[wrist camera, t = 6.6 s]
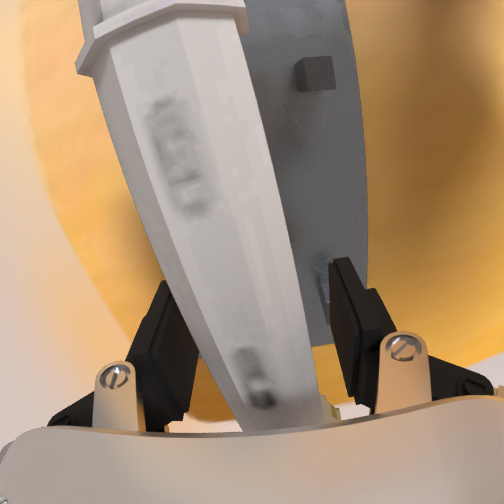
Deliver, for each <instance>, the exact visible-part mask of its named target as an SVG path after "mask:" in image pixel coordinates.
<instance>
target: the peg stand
mask: <svg viewBox="0 0 504 504" xmlns="http://www.w3.org/2000/svg"><path fill="white" fill-rule="evenodd" d="M243 1H244V3H245V6H246V11H247V16H248V22H249V27H250V31H249V32H248V33H246V34H244V35H243V36H241V37H239V38H240V41H241V45H242V49H243V52H244V56H245V59H246V63H247V67H248V70H249V74H250V78H251V82H252V85H253V89H254V93H255V97H256V101H257V105H258V108H259V112H260V116H261V120H262V124H263V128H264V132H265V136H266V140H267V144H268V148H269V153H270V157H271V161H272V165H273V169H274V174H275V178H276V182H277V186H278V191H279V195H280V199H281V204H282V208H283V213H284V217H285V222H286V226H287V231H288V235H289V240H290V245H291V249H292V254H293V259H294V263H295V268H296V273H297V278H298V283H299V288H300V293H301V298H302V303H303V308H304V313H305V318H306V323H307V328H308V334H309V339H310V344H311V347H312V346H319V345H326V344H332V343H334V339H333V335H332V331H331V327H330V306H329V275H328V263H333V259H334V258H341V257H349V258H350V260H351V262H352V264H353V266H354V268H355V270H356V272H357V274H358V276H359V278H360V280H361V282H362V284H363V286H364V288H365V289H367V256H368V213H367V180H366V160H365V145H364V132H363V121H362V110H361V101H360V92H359V84H358V76H357V69H356V62H355V55H354V49H353V43H352V37H351V31H350V26H349V20H348V15H347V10H346V5H345V0H243ZM198 357H199V358H203V357H202V355H201V353H200V351H199V356H198Z"/></svg>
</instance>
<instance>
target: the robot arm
mask: <svg viewBox="0 0 504 504" xmlns="http://www.w3.org/2000/svg"><path fill="white" fill-rule="evenodd" d="M328 275H329V306H330V327H331V331H332V335H333V339H334V343H335V346H336V350H337V354H338V358H339V361H340V365H341V369H342V373H343V377H344V381H345V385H346V389H347V393H348V396H349V397H353V396H354V399H355V403H356V405H359V404H363V405H365V406H367V407H369V408H370V412H369V416H363V417H358V418H353V419H348V420H342V421H336V422H330V423H323V424H316V425H309V426H301V427H292V428H283V429H272V430H260V431H245V432H225V433H169V427H168V424H169V423H170V422H172V421H183V415H184V413H187V412H188V411H189V406H190V400H191V394H192V389H193V383H194V378H195V372H196V367H197V361H198V356H199V349H198V347H197V345H196V343H195V341H194V339H193V337H192V335H191V333H190V331H189V329H188V326H187V324H186V322H185V320H184V318H183V316H182V314H181V312H180V310H179V307H178V305H177V303H176V301H175V299H174V297H173V294H172V292H171V290H170V288H169V286H168V283H167V281H166V280H164V281H161V283H160V285H159V287H158V290H157V292H156V294H155V296H154V299H153V301H152V303H151V306H150V308H149V310H148V313H147V315H146V316H144V318H143V319H142V321H141V324H140V326H139V328H138V331H137V333H136V336H135V338H134V340H133V343H132V345H131V348H130V350H129V353H128V355H127V358H126V360H125V361H116V362H113V363H110V364H108V365H106V366H105V367H103V368H102V369H101V370H100V371H99V373H98V375H97V377H96V380H95V391H93V392H92V393H90V394H88V395H87V396H85V397H83V398H82V399H80V400H79V401H77V402H75V403H74V404H72V405H70V406H68V407H67V408H65V409H63V410H62V411H60V412H59V413H57V414H56V415H54V416H53V417H52V418H51V420H50V421H49V423H48V425H47V427H41V428H37V429H33V430H30V431H27V432H25V433H23V434H21V435H20V436H18V437H17V438H16V439H15V440H14V441H12V442H10V443H8V444H7V445H6V446H4V447H3V449H2V450H1V452H0V504H504V386H500V385H499V387H498V389H497V388H493V386H492V384H491V382H490V381H489V380H488V379H487V378H486V377H485V376H483V375H480V374H479V373H476V372H473V371H470V370H468V369H465V368H462V367H459V366H457V365H454V364H451V363H449V362H446V361H443V360H441V359H438V358H435V357H433V356H430V355H428V352H427V346H426V343H425V341H424V340H423V339H422V338H421V337H420V336H418V335H417V334H415V333H412V332H407V331H397V329H396V327H395V325H394V323H393V321H392V319H391V317H390V315H389V313H388V311H387V309H386V307H385V305H384V304H383V302H382V300H381V298H380V296H379V294H378V292H377V290H376V289H375V288H370V289H365V288H364V286H363V284H362V282H361V280H360V278H359V276H358V274H357V272H356V270H355V268H354V266H353V264H352V262H351V260H350V258H349V257H341V258H334V259H333V263H328Z"/></svg>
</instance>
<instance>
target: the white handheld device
mask: <svg viewBox="0 0 504 504" xmlns="http://www.w3.org/2000/svg"><path fill="white" fill-rule="evenodd" d="M78 3H79V10H80V16H81V22H82V28H83V34H84V39H85V43H84V45H83V47H82V49H81V51H80V53H79V55H78V58H77V60H76V62H75V65H76V70H77V74H80V75H84V76H88V77H92V78H93V80H94V84H95V87H96V91H97V94H98V98H99V101H100V104H101V108H102V111H103V114H104V117H105V120H106V124H107V127H108V130H109V133H110V136H111V139H112V142H113V145H114V148H115V151H116V154H117V157H118V160H119V163H120V165H121V168H122V171H123V174H124V177H125V179H126V182H127V185H128V188H129V190H130V193H131V196H132V198H133V201H134V204H135V206H136V209H137V211H138V214H139V216H140V219H141V222H142V224H143V227H144V229H145V232H146V234H147V236H148V239H149V241H150V244H151V246H152V249H153V251H154V253H155V256H156V258H157V260H158V263H159V265H160V267H161V270H162V272H163V274H164V277H165V279H166V281H167V283H168V286H169V288H170V290H171V292H172V294H173V297H174V299H175V301H176V303H177V305H178V307H179V310H180V312H181V314H182V316H183V318H184V320H185V322H186V324H187V326H188V329H189V331H190V333H191V335H192V337H193V339H194V341H195V343H196V345H197V347H198V349H199V351H200V353H201V355H202V357H203V359H204V361H205V363H206V365H207V367H208V369H209V370H210V372H211V374H212V376H213V378H214V380H215V382H216V384H217V386H218V387H219V389H220V391H221V393H222V395H223V397H224V399H225V400H226V402H227V404H228V406H229V408H230V409H231V411H232V413H233V415H234V417H235V418H236V420H237V422H238V424H239V425H240V427H241V429H242V430H243V432H245V431H260V430H272V429H283V428H292V427H301V426H309V425H316V424H323V423H330V422H336V421H341V416H340V411H339V408H335V407H334V406H332V405H331V404H330V403H329V402H328V401H327V400H326V397H325V395H320V394H319V389H318V383H317V378H316V372H315V366H314V361H313V355H312V350H311V344H310V339H309V334H308V328H307V323H306V318H305V313H304V308H303V303H302V298H301V293H300V288H299V283H298V278H297V273H296V268H295V263H294V259H293V254H292V249H291V245H290V240H289V235H288V231H287V226H286V222H285V217H284V213H283V208H282V204H281V199H280V195H279V191H278V186H277V182H276V178H275V174H274V169H273V165H272V161H271V157H270V153H269V148H268V144H267V140H266V136H265V132H264V128H263V124H262V120H261V116H260V112H259V108H258V105H257V101H256V97H255V93H254V89H253V85H252V82H251V78H250V74H249V70H248V67H247V63H246V59H245V56H244V52H243V49H242V45H241V41H240V38H239V37H241V36H243V35H244V34H246V33H248V32H249V31H250V27H249V22H248V16H247V11H246V6H245V3H244V1H243V0H78Z"/></svg>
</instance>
